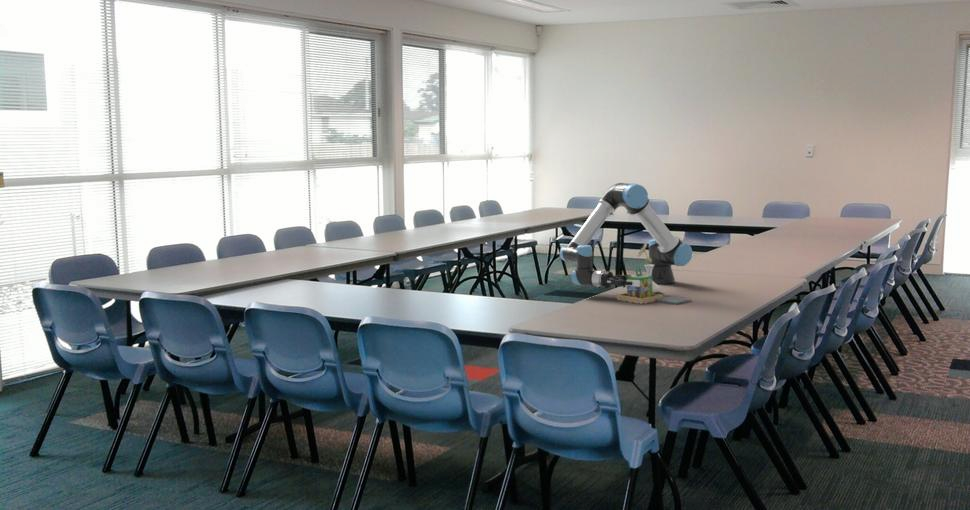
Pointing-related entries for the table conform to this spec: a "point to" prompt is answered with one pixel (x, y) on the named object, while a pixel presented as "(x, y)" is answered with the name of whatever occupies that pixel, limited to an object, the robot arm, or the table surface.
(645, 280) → the chalk box
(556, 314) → the table surface
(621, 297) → the light wooden square frame
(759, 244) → the table surface
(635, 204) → the robot arm
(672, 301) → the charcoal mat
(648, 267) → the flower in vase
